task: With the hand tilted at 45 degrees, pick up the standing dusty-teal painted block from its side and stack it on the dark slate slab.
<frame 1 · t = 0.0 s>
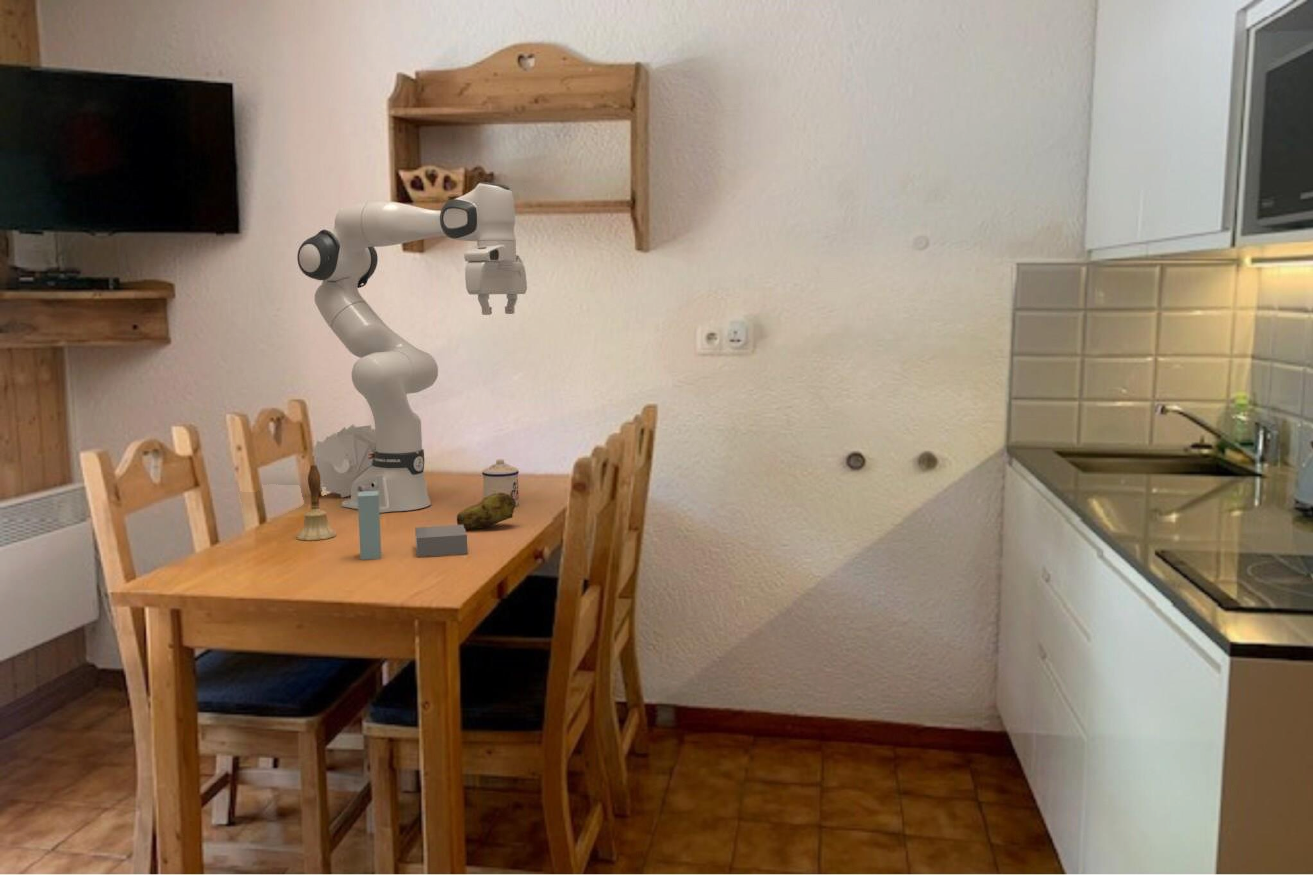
hand: (498, 314, 243), 48 cm above the table, tool pointing down, fingers open, 8 cm apart
teacup with lid: (502, 505, 264), on the table
potato: (487, 529, 237), on the table
hand bell: (316, 537, 230), on the table
spiral staircase: (356, 491, 283), on the table
slate slab: (441, 549, 217), on the table
teal block: (371, 556, 212), on the table
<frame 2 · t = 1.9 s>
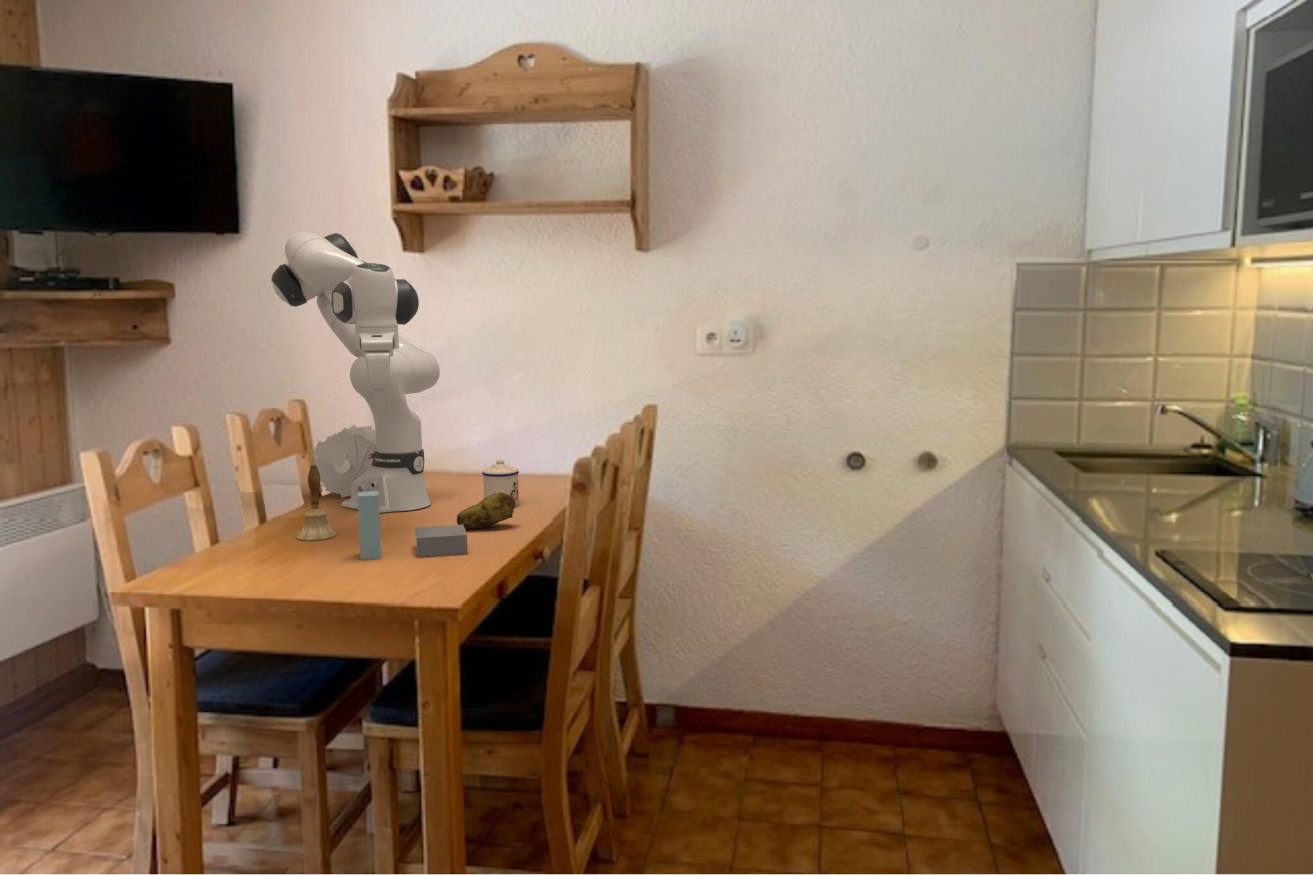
hand: (380, 405, 223), 29 cm above the table, tool pointing down, fingers open, 8 cm apart
nothing on the table moved.
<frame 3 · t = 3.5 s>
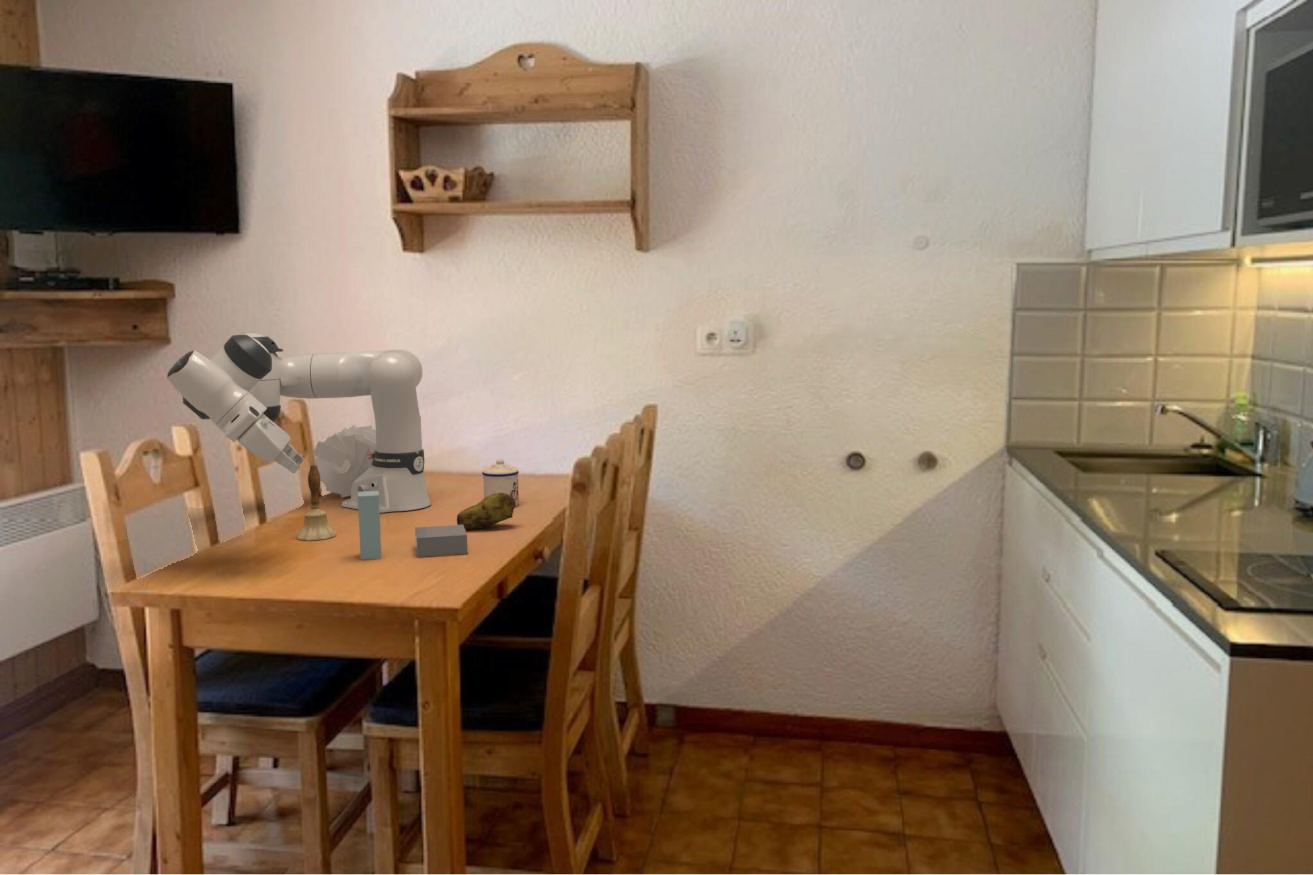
hand: (299, 466, 207), 19 cm above the table, tool tilted 45°, fingers open, 8 cm apart
nothing on the table moved.
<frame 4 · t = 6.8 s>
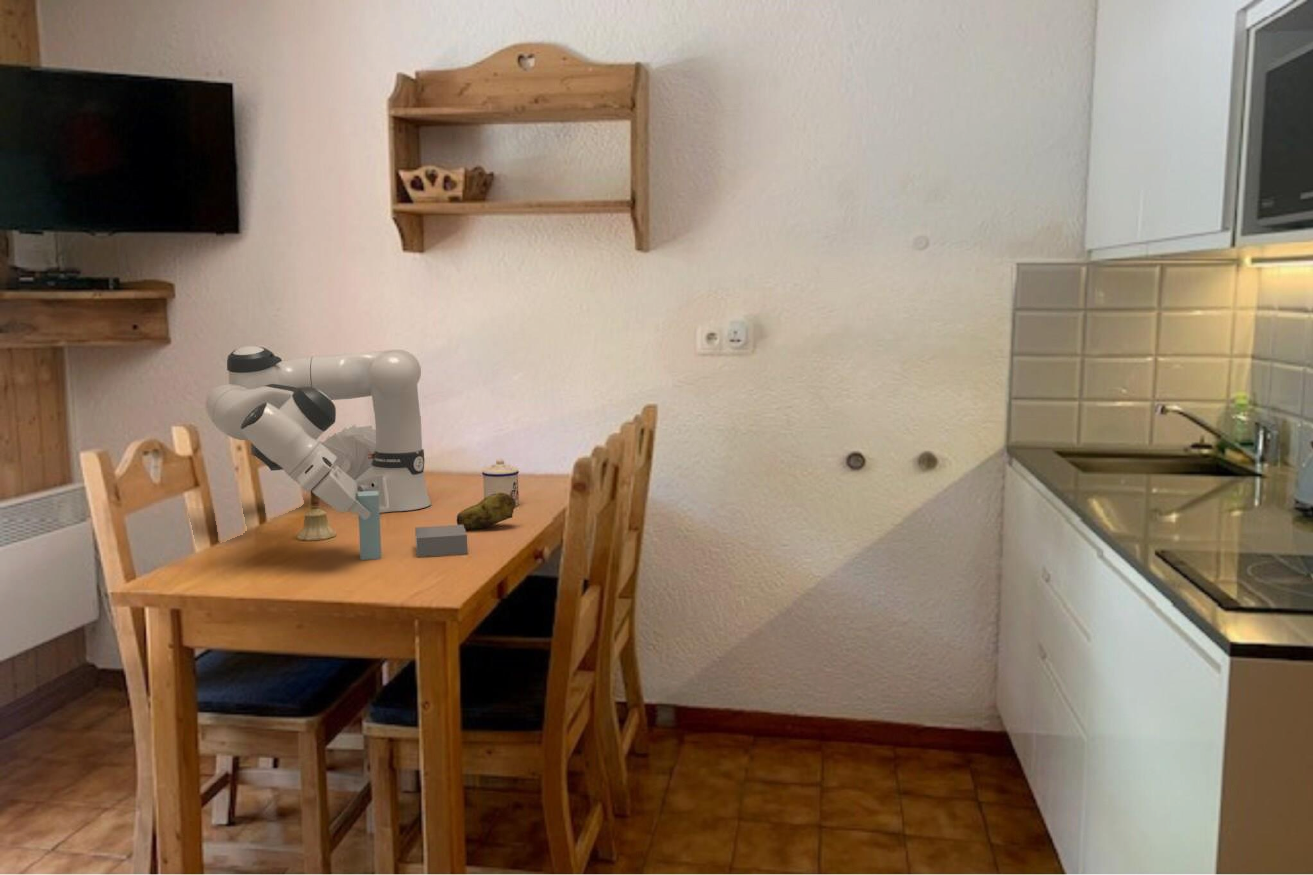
hand: (368, 513, 211), 9 cm above the table, tool tilted 45°, fingers closed on teal block, 5 cm apart
teal block: (371, 556, 212), on the table, touching gripper
everything else where it was.
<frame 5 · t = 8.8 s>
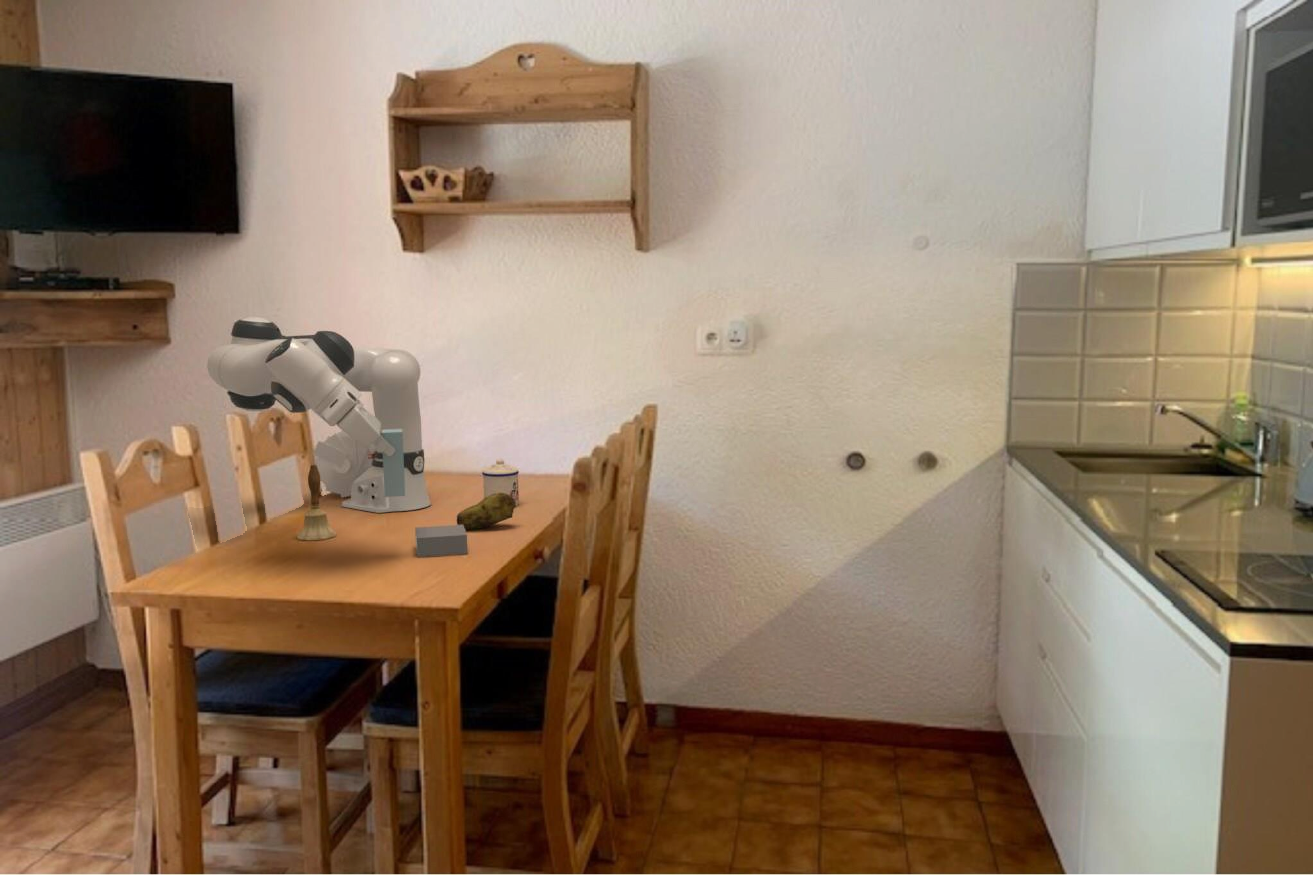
hand: (392, 451, 211), 21 cm above the table, tool tilted 45°, fingers closed on teal block, 5 cm apart
teal block: (394, 494, 212), point 13 cm above the table, touching gripper
everything else where it was.
when the fingers open (14 cm above the table, at t = 11.2 s): teal block stays where it is, resting on slate slab.
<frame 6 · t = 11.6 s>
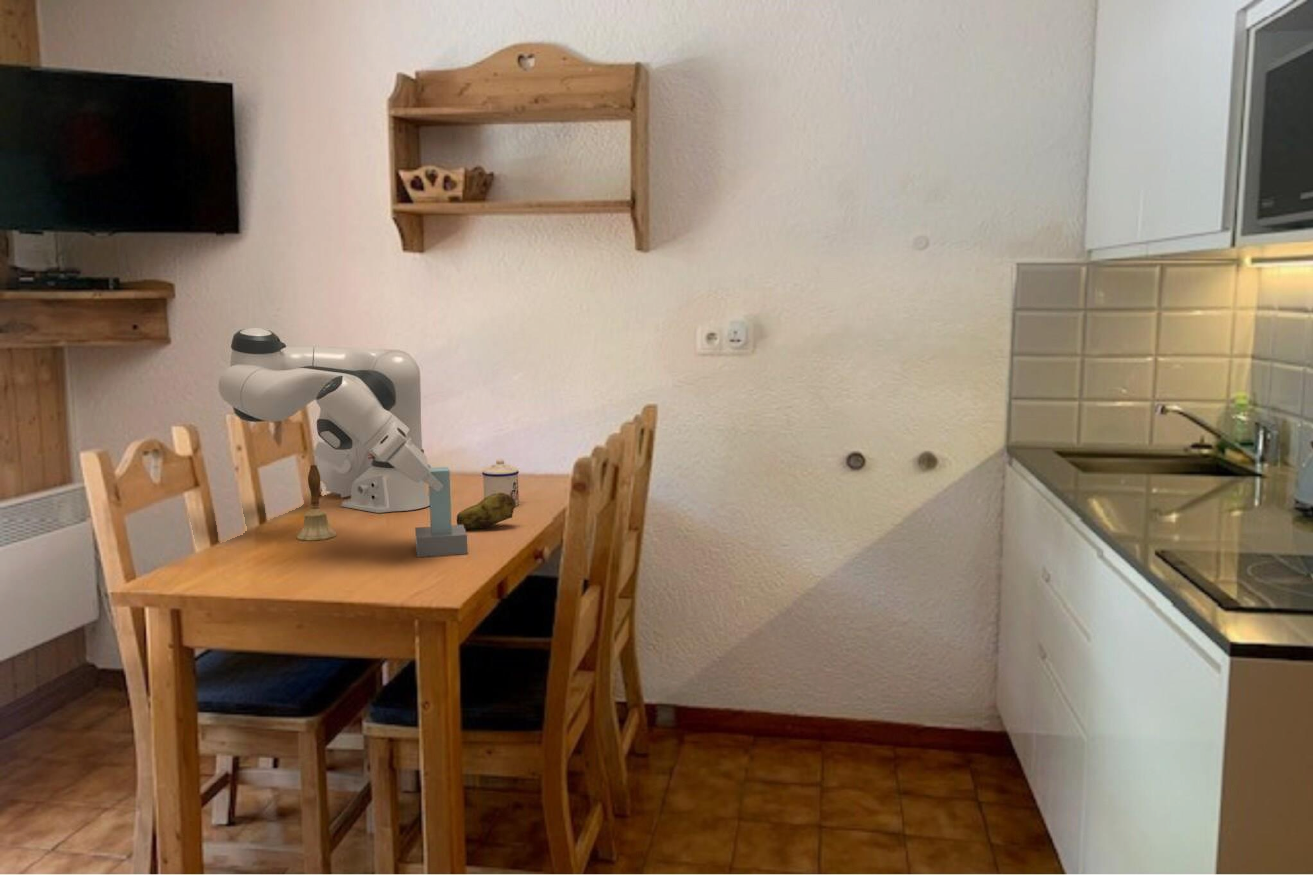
hand: (439, 484, 215), 14 cm above the table, tool tilted 45°, fingers open, 8 cm apart
teal block: (441, 530, 217), point 4 cm above the table, touching slate slab
everything else where it was.
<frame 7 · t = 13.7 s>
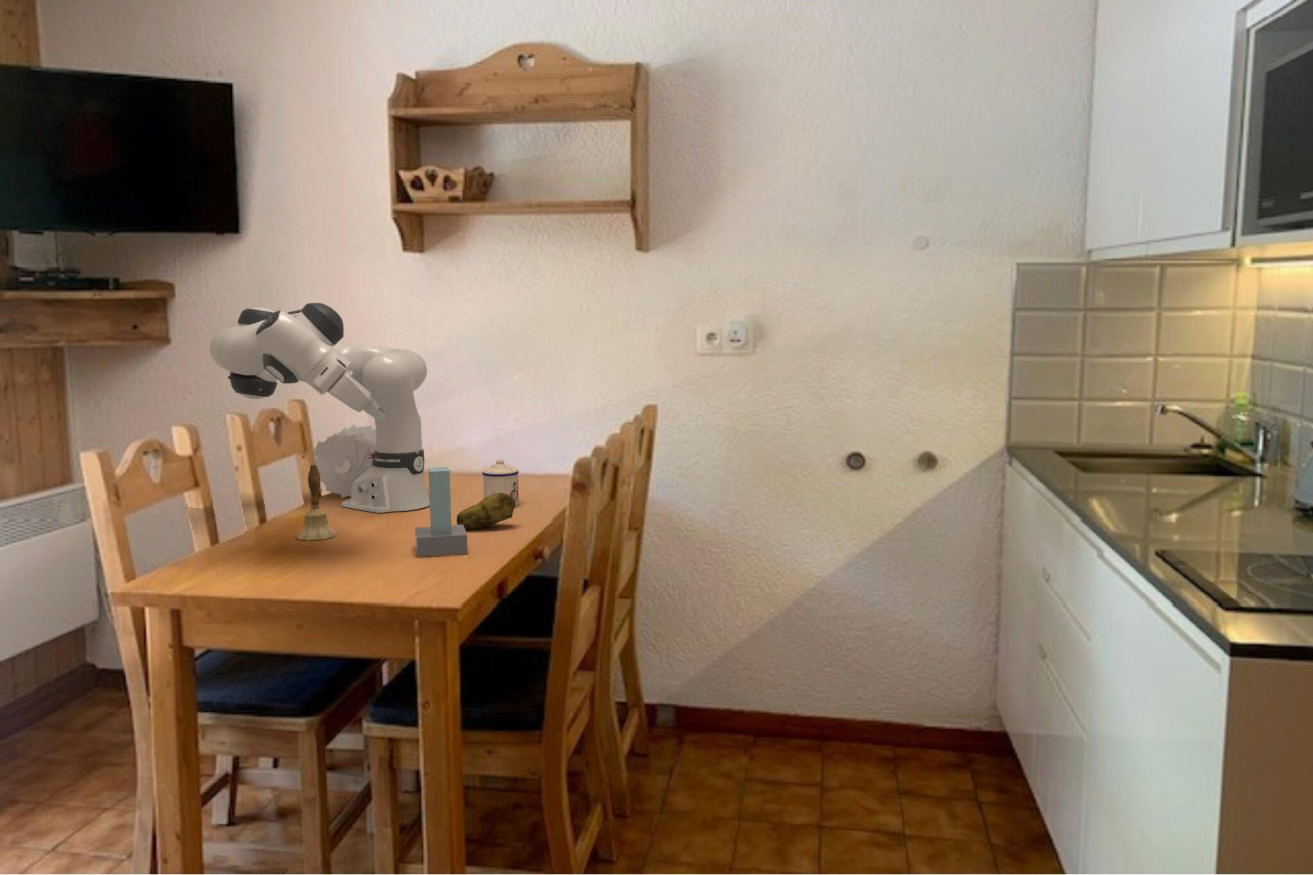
hand: (383, 417, 216), 28 cm above the table, tool tilted 45°, fingers open, 8 cm apart
nothing on the table moved.
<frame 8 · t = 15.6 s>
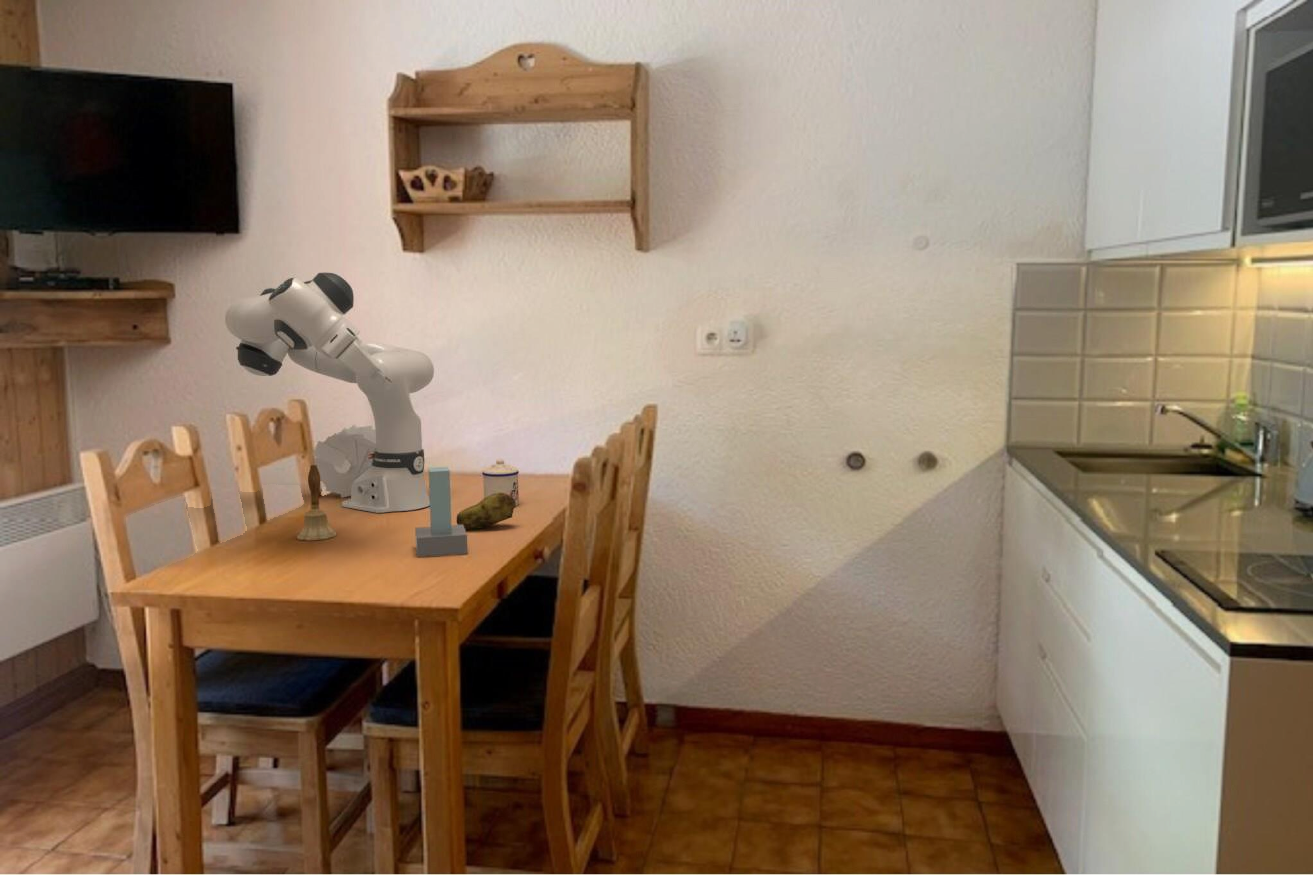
hand: (389, 386, 222), 33 cm above the table, tool tilted 45°, fingers open, 8 cm apart
nothing on the table moved.
at the end: teal block inside the target area on the slate slab (0.2 cm from its centre), point 4.0 cm above the slate slab's base; teal block tilted 0°; the gripper is holding nothing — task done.
